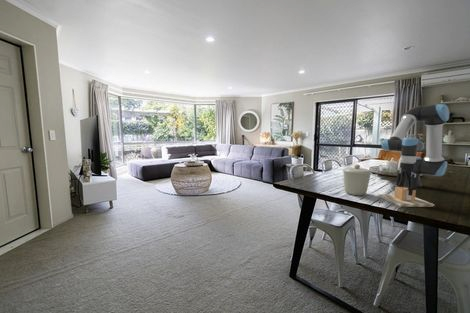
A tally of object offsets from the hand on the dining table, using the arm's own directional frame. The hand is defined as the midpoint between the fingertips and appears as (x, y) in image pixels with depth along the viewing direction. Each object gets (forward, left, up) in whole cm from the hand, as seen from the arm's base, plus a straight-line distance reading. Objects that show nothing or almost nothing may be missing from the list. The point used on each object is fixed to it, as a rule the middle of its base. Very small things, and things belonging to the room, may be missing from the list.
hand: (404, 198), depth 140 cm
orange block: (0, 0, 0) cm, 0 cm away
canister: (+22, -17, -2) cm, 28 cm away
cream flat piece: (0, 0, -2) cm, 2 cm away
